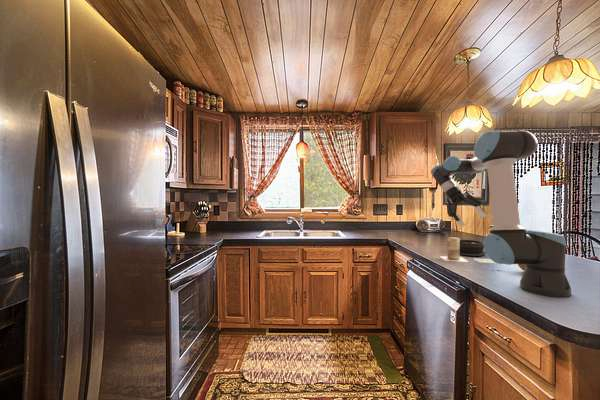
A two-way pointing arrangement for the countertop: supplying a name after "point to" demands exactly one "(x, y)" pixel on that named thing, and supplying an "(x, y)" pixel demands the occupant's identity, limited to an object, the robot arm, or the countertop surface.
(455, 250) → the maple post
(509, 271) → the countertop surface
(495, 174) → the robot arm
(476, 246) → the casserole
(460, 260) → the board
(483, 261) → the sage pad
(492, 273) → the countertop surface
